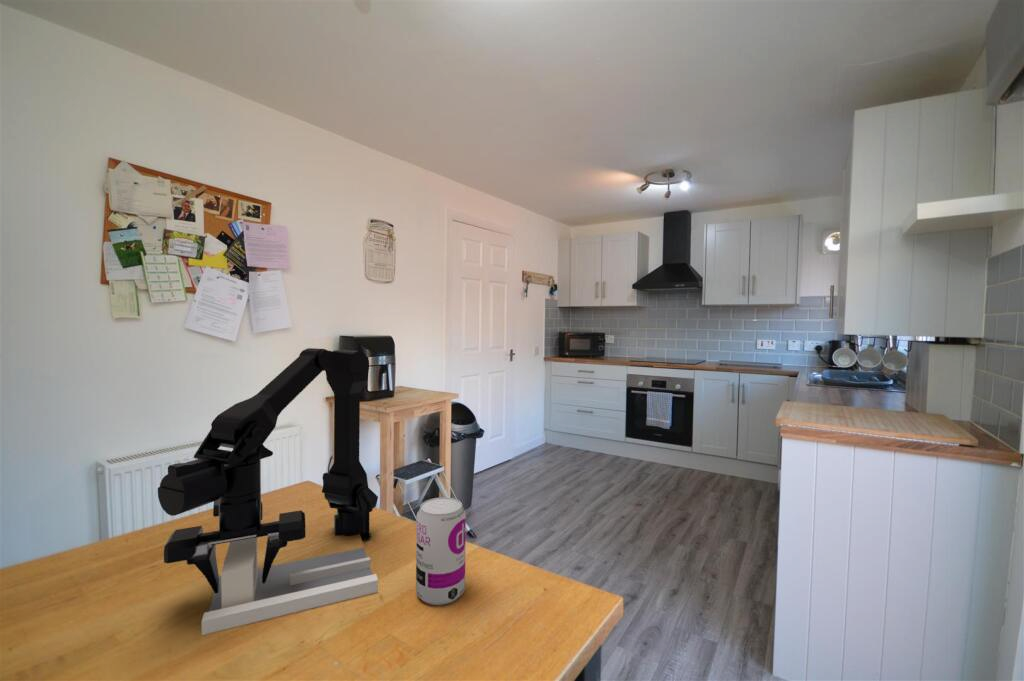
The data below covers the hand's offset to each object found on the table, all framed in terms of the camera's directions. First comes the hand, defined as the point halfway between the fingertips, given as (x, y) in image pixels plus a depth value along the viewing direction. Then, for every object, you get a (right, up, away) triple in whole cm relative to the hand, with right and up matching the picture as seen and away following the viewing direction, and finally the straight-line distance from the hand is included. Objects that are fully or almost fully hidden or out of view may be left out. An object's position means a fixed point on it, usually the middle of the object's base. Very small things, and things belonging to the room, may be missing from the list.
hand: (241, 586), depth 71 cm
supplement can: (+31, -4, +4) cm, 32 cm away
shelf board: (+7, -3, +4) cm, 9 cm away
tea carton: (0, -2, 0) cm, 2 cm away
